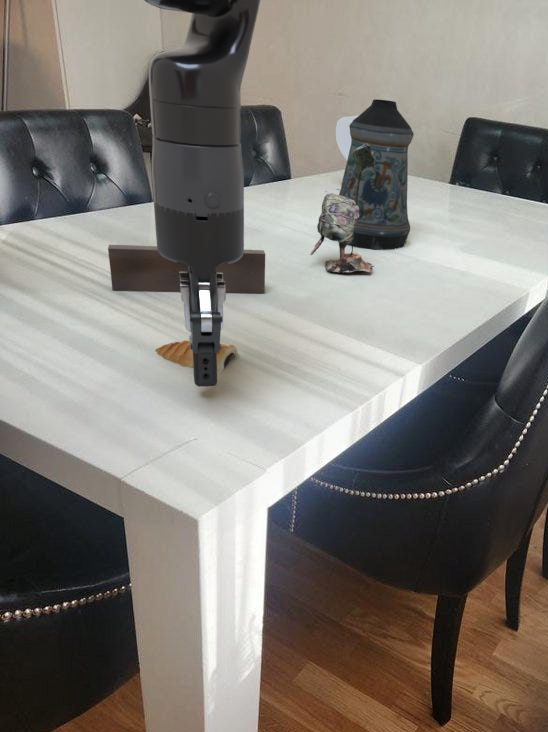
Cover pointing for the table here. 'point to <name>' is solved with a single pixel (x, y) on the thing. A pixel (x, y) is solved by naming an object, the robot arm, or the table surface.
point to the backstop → (179, 270)
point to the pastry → (184, 354)
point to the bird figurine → (344, 220)
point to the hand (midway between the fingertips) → (205, 383)
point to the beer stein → (380, 177)
